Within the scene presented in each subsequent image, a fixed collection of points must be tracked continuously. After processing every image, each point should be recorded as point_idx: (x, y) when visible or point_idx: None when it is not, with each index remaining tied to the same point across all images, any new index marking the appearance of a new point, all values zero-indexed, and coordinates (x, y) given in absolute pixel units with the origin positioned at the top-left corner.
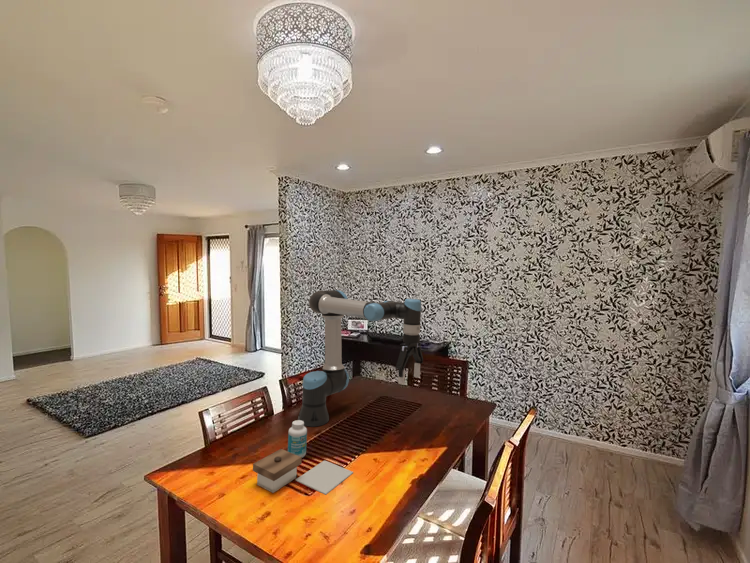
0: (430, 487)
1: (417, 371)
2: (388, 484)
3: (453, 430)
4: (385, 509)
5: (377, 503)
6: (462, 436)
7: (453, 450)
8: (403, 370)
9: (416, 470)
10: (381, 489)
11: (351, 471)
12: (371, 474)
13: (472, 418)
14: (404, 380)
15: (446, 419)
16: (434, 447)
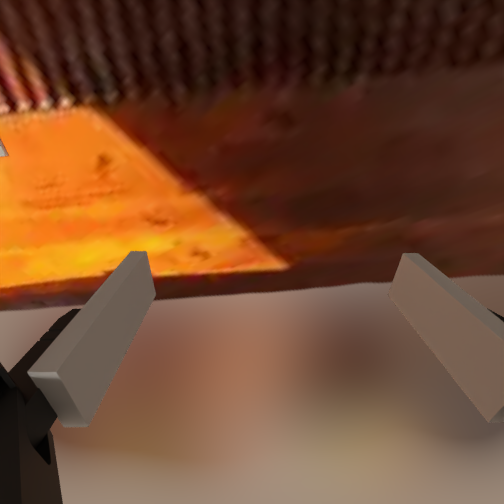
0: None
1: (426, 318)
2: (61, 244)
3: (386, 246)
4: (9, 276)
5: (4, 258)
6: (361, 274)
7: (280, 283)
8: (66, 410)
9: (150, 261)
10: (37, 242)
11: (2, 150)
12: (50, 195)
13: (492, 256)
14: (142, 317)
15: (460, 202)
16: (267, 248)
